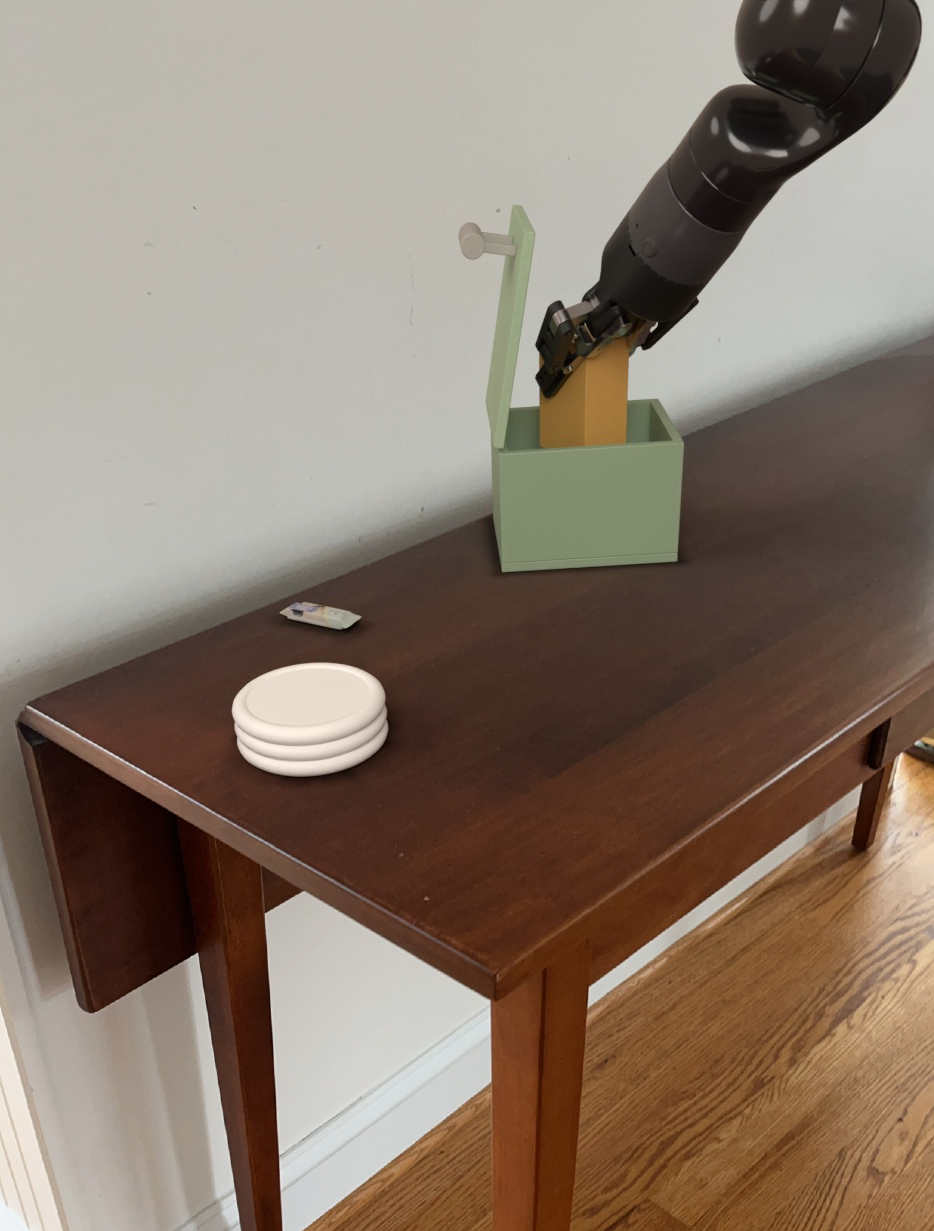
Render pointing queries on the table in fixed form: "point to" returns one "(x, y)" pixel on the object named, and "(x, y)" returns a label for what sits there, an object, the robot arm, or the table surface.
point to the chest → (588, 495)
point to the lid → (504, 308)
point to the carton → (589, 401)
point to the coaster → (310, 719)
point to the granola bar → (320, 615)
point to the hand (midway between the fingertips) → (568, 381)
